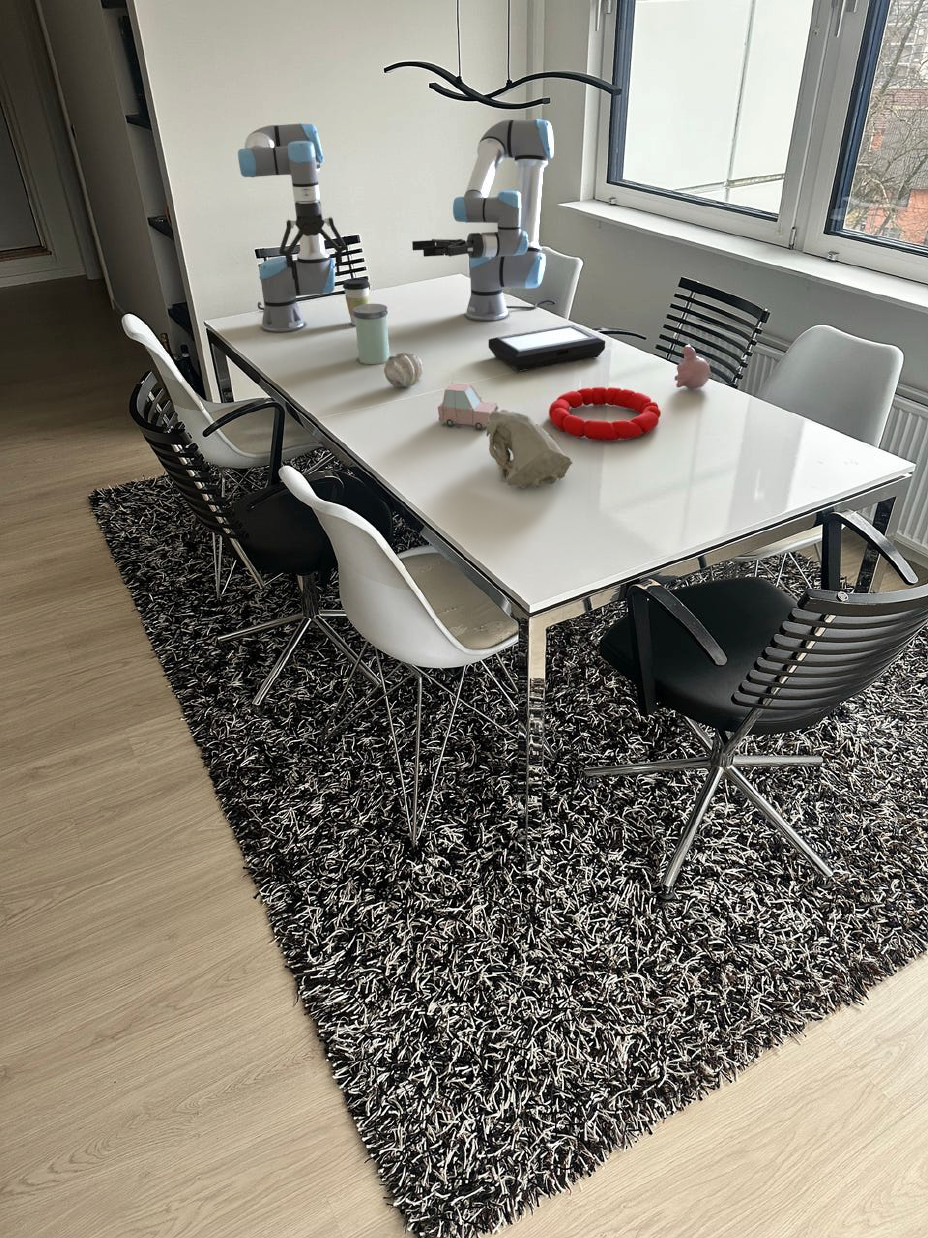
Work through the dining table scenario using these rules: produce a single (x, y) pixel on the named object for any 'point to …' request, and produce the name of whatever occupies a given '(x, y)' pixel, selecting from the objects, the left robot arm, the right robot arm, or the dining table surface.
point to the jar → (372, 340)
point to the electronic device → (546, 347)
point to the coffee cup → (356, 294)
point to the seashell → (403, 369)
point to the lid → (370, 311)
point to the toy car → (465, 406)
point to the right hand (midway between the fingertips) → (417, 248)
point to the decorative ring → (604, 428)
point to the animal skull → (525, 450)
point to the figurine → (692, 370)
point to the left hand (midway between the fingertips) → (316, 276)
